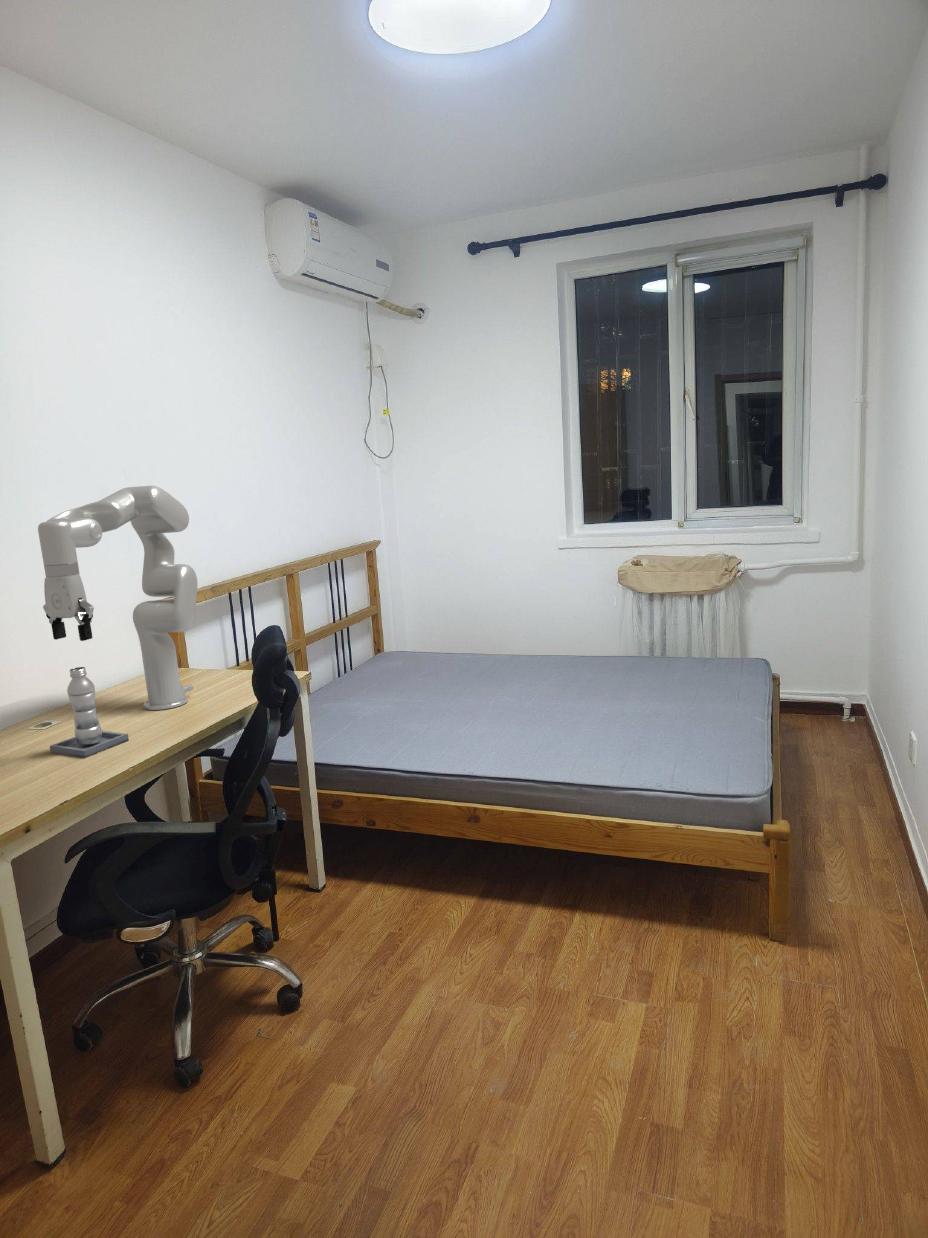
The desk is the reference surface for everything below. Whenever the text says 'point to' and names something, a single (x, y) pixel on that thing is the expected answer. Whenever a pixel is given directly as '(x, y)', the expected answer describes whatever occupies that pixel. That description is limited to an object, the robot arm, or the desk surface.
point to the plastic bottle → (84, 707)
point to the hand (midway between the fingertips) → (73, 639)
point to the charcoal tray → (77, 750)
